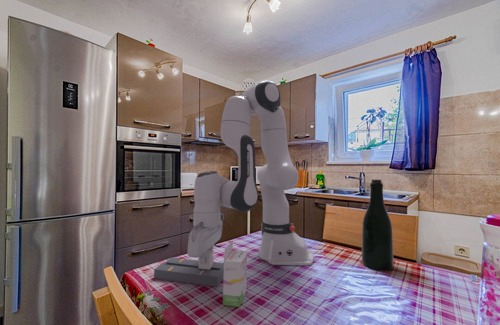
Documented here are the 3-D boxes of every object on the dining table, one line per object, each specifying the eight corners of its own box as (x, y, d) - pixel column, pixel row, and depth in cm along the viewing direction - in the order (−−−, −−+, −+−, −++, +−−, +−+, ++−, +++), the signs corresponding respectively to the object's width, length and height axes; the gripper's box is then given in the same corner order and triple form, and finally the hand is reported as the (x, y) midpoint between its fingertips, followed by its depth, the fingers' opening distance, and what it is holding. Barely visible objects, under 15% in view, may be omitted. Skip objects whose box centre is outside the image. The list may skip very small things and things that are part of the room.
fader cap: (213, 270, 75) (213, 250, 75) (209, 274, 72) (210, 254, 72) (202, 268, 75) (202, 249, 76) (198, 272, 72) (198, 253, 73)
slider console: (227, 272, 77) (227, 263, 77) (217, 287, 67) (217, 276, 67) (171, 265, 82) (171, 257, 82) (154, 278, 72) (154, 269, 72)
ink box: (240, 308, 57) (241, 250, 58) (222, 305, 58) (223, 249, 59) (247, 290, 66) (248, 240, 66) (231, 288, 67) (232, 239, 67)
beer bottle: (384, 260, 89) (383, 179, 90) (399, 272, 78) (398, 180, 80) (357, 259, 90) (357, 178, 91) (368, 270, 79) (368, 179, 81)
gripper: (202, 227, 63) (201, 276, 63) (225, 213, 83) (224, 250, 83) (182, 226, 65) (181, 273, 64) (209, 213, 85) (209, 249, 84)
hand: (206, 260), depth 74 cm, fingers closed on fader cap, 3 cm apart
